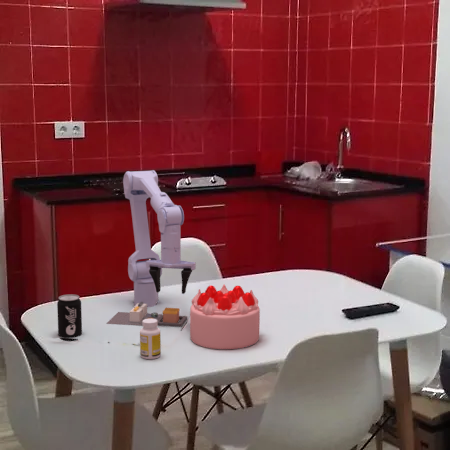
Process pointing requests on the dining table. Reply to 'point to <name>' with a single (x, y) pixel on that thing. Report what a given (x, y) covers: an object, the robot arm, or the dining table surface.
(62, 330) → the beverage can
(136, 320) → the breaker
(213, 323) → the cake
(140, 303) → the block
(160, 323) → the socket
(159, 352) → the supplement bottle
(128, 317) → the panel
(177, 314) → the copper lidded box
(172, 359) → the dining table surface
